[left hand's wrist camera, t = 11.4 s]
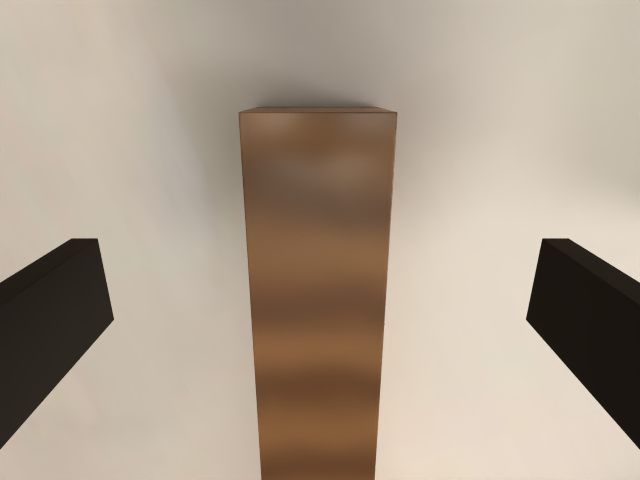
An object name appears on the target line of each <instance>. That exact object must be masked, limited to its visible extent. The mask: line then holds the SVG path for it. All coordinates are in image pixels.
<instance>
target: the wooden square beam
mask: <svg viewBox="0 0 640 480" xmlns="http://www.w3.org/2000/svg"><path fill="white" fill-rule="evenodd" d="M239 125H240V141H241V157H242V173H243V189H244V205H245V221H246V237H247V253H248V269H249V285H250V301H251V317H252V333H253V349H254V365H255V381H256V397H257V413H258V429H259V445H260V461H261V477H262V480H375V464H376V448H377V432H378V416H379V400H380V383H381V367H382V351H383V335H384V319H385V303H386V287H387V271H388V254H389V238H390V222H391V206H392V190H393V174H394V158H395V142H396V125H397V112H394V111H390V110H386V109H382V108H378V107H257V108H253V109H249V110H245V111H242V112H239Z"/></svg>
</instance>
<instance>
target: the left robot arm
mask: <svg viewBox="0 0 640 480" xmlns="http://www.w3.org/2000/svg"><path fill="white" fill-rule="evenodd" d="M113 320H114V317H113V312H112V307H111V302H110V297H109V292H108V287H107V283H106V278H105V273H104V268H103V263H102V258H101V253H100V248H99V243H98V239H70V240H68V241H67V242H65V243H64V244H62V245H60V246H59V247H57V248H56V249H54V250H52V251H51V252H49V253H47V254H46V255H44V256H43V257H41V258H39V259H38V260H36V261H35V262H33V263H31V264H30V265H28V266H26V267H25V268H23V269H22V270H20V271H18V272H17V273H15V274H14V275H12V276H10V277H9V278H7V279H5V280H4V281H2V282H1V283H0V449H1V448H2V447H3V446H4V445H5V443H6V442H7V441H8V440H9V439H10V438H11V437H12V435H13V434H14V433H15V432H16V431H17V430H18V429H19V427H20V426H21V425H22V424H23V423H24V422H25V421H26V419H27V418H28V417H29V416H30V415H31V414H32V413H33V411H34V410H35V409H36V408H37V407H38V406H39V405H40V403H41V402H42V401H43V400H44V399H45V398H46V397H47V395H48V394H49V393H50V392H51V391H52V390H53V389H54V388H55V386H56V385H57V384H58V383H59V382H60V381H61V380H62V378H63V377H64V376H65V375H66V374H67V373H68V372H69V370H70V369H71V368H72V367H73V366H74V365H75V364H76V362H77V361H78V360H79V359H80V358H81V357H82V356H83V354H84V353H85V352H86V351H87V350H88V349H89V348H90V346H91V345H92V344H93V343H94V342H95V341H96V340H97V338H98V337H99V336H100V335H101V334H102V333H103V332H104V330H105V329H106V328H107V327H108V326H109V325H110V324H111V322H112V321H113ZM526 320H527V321H528V322H529V324H530V325H531V326H532V327H533V328H534V329H535V330H536V332H537V333H538V334H539V335H540V336H541V337H542V338H543V340H544V341H545V342H546V343H547V344H548V345H549V346H550V348H551V349H552V350H553V351H554V352H555V353H556V354H557V356H558V357H559V358H560V359H561V360H562V361H563V362H564V364H565V365H566V366H567V367H568V368H569V369H570V370H571V372H572V373H573V374H574V375H575V376H576V377H577V378H578V380H579V381H580V382H581V383H582V384H583V385H584V386H585V388H586V389H587V390H588V391H589V392H590V393H591V394H592V395H593V397H594V398H595V399H596V400H597V401H598V402H599V403H600V405H601V406H602V407H603V408H604V409H605V410H606V411H607V413H608V414H609V415H610V416H611V417H612V418H613V419H614V421H615V422H616V423H617V424H618V425H619V426H620V427H621V429H622V430H623V431H624V432H625V433H626V434H627V435H628V437H629V438H630V439H631V440H632V441H633V442H634V443H635V445H636V446H637V447H638V448H639V449H640V283H639V282H638V281H636V280H635V279H633V278H631V277H630V276H628V275H626V274H625V273H623V272H622V271H620V270H618V269H617V268H615V267H614V266H612V265H610V264H609V263H607V262H605V261H604V260H602V259H601V258H599V257H597V256H596V255H594V254H593V253H591V252H589V251H588V250H586V249H584V248H583V247H581V246H580V245H578V244H576V243H575V242H573V241H572V240H570V239H542V243H541V248H540V253H539V258H538V263H537V268H536V273H535V278H534V283H533V287H532V292H531V297H530V302H529V307H528V312H527V317H526Z"/></svg>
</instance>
